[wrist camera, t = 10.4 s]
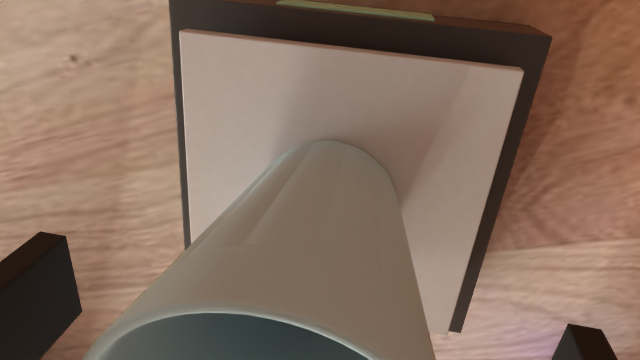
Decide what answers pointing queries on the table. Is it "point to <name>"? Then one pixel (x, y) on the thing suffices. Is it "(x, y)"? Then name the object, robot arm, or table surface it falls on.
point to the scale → (359, 115)
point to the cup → (288, 274)
